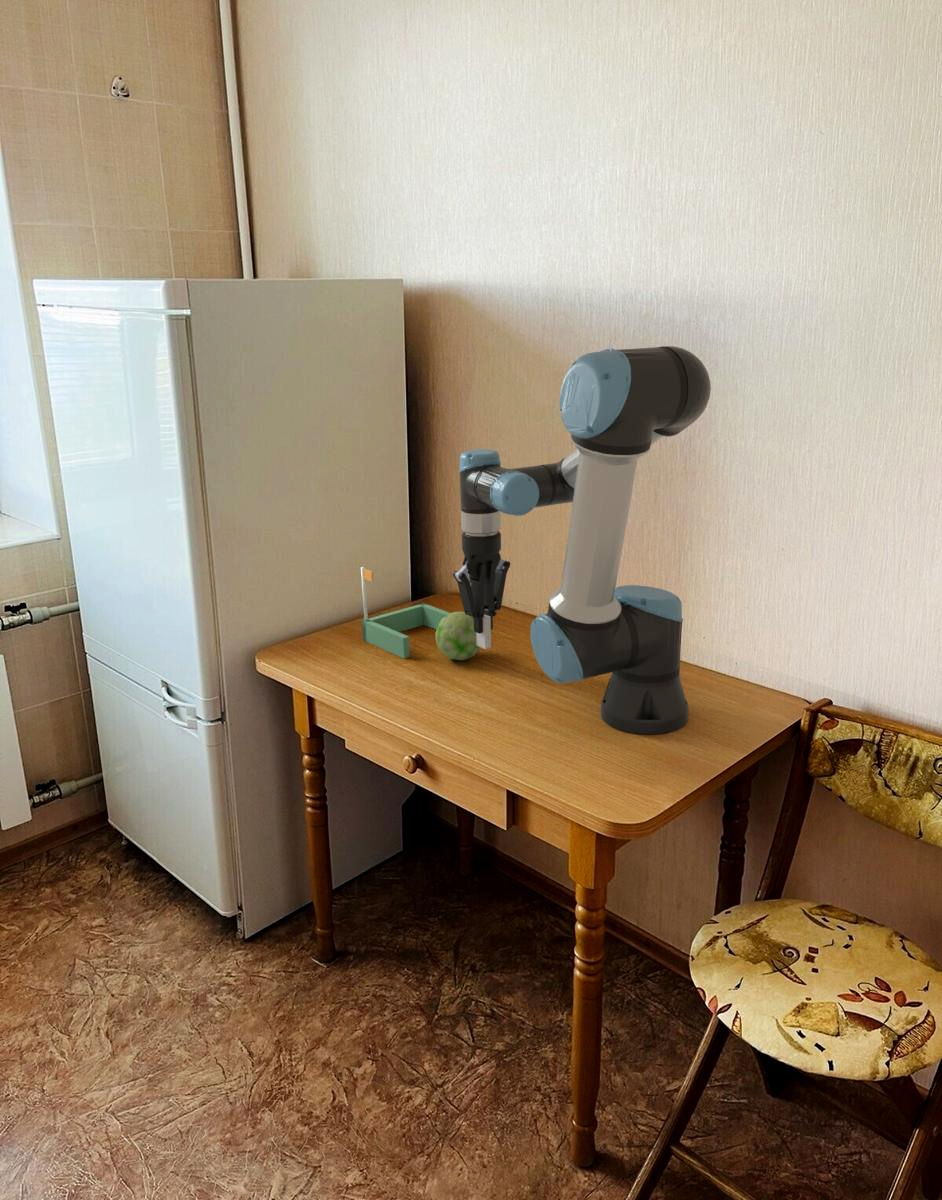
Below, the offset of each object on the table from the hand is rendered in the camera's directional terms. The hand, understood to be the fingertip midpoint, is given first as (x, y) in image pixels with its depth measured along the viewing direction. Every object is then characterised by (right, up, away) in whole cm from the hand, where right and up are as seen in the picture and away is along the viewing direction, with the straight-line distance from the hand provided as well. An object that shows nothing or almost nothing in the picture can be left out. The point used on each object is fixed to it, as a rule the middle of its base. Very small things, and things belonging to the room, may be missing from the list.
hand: (483, 646), depth 190 cm
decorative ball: (-5, -3, +7) cm, 9 cm away
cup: (-14, +1, +18) cm, 23 cm away
